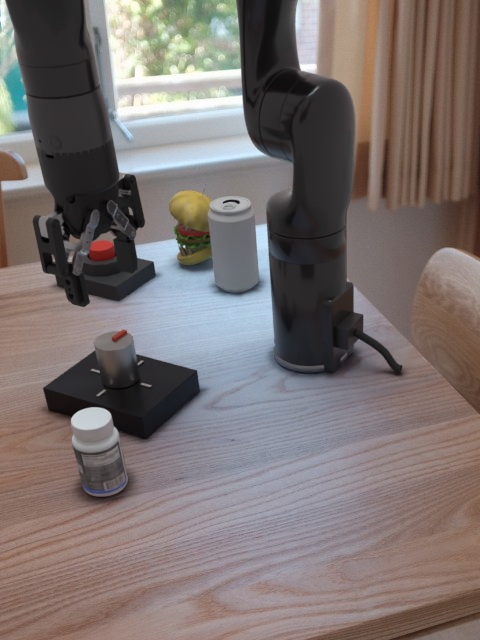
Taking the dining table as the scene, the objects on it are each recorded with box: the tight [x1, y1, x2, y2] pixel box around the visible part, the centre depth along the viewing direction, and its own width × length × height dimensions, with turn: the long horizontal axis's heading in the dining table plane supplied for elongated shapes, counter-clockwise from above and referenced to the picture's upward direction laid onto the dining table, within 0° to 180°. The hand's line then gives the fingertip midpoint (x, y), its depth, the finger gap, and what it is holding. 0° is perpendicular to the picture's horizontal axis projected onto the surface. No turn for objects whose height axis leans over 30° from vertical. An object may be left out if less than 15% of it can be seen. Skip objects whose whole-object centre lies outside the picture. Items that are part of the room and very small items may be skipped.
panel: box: [42, 350, 201, 440], centre depth 107 cm, size 14×11×3 cm
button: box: [89, 239, 115, 261], centre depth 129 cm, size 4×4×2 cm
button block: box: [54, 247, 157, 302], centre depth 131 cm, size 11×9×4 cm
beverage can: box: [208, 195, 260, 294], centre depth 127 cm, size 6×6×12 cm
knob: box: [93, 329, 140, 388], centre depth 104 cm, size 4×4×5 cm
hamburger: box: [168, 183, 213, 266], centre depth 133 cm, size 8×7×12 cm
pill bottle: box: [70, 407, 129, 498], centre depth 93 cm, size 5×5×8 cm
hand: (105, 287), depth 100 cm, fingers open, 8 cm apart
